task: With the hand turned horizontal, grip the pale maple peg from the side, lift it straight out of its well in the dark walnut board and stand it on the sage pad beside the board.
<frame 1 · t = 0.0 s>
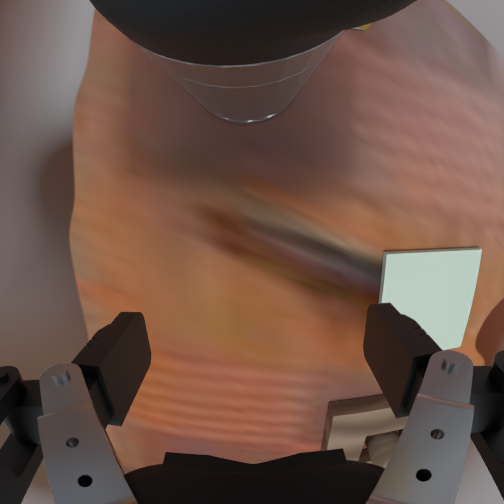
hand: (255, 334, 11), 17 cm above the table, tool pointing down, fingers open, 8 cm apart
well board: (379, 433, 35), on the table
sage pad: (427, 303, 29), on the table
maple peg: (392, 468, 29), in the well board
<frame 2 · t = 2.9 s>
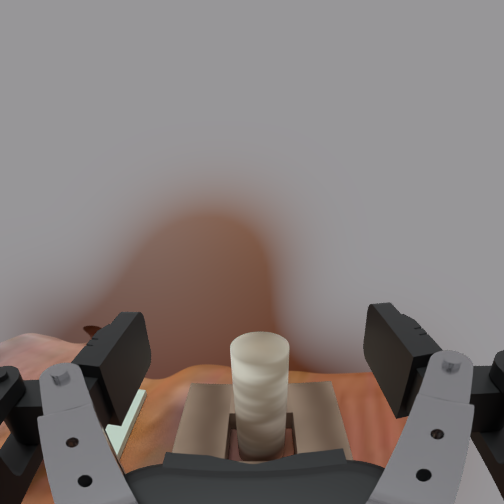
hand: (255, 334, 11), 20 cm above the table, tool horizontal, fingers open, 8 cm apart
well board: (261, 451, 27), on the table
sage pad: (87, 419, 29), on the table
maple peg: (260, 407, 25), in the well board
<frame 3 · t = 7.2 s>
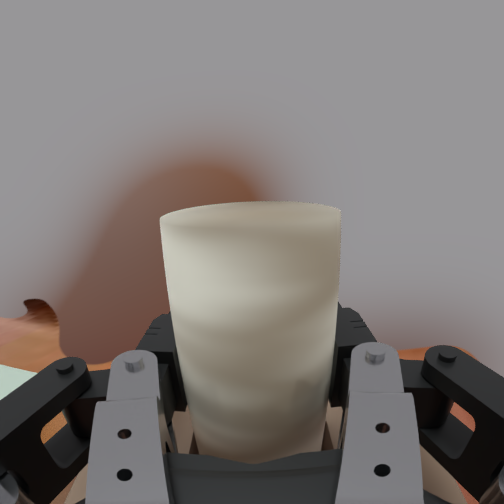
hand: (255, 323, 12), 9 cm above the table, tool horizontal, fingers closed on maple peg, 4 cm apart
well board: (262, 502, 11), on the table
maple peg: (258, 413, 9), in the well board, touching gripper
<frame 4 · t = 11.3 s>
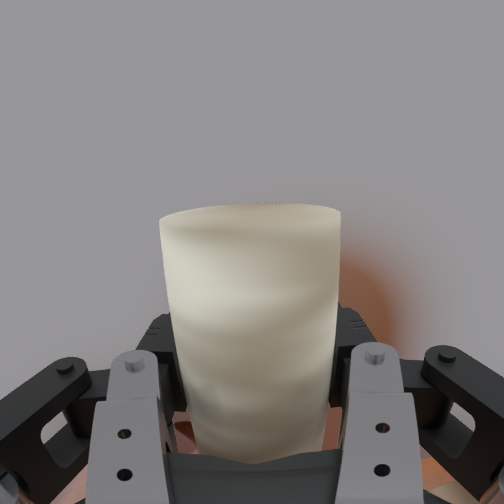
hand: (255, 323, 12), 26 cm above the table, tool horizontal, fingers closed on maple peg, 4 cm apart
maple peg: (258, 414, 9), point 24 cm above the table, touching gripper
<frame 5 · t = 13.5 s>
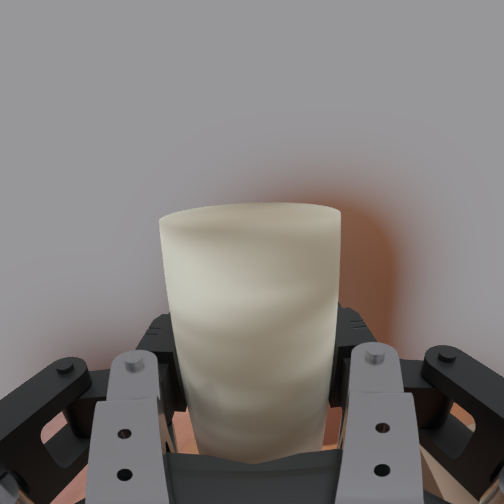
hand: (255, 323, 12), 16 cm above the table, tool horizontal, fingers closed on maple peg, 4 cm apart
maple peg: (258, 414, 9), point 14 cm above the table, touching gripper
when the fingers open (10 cm above the table, at t = 15.4 s): maple peg stays where it is, resting on sage pad.
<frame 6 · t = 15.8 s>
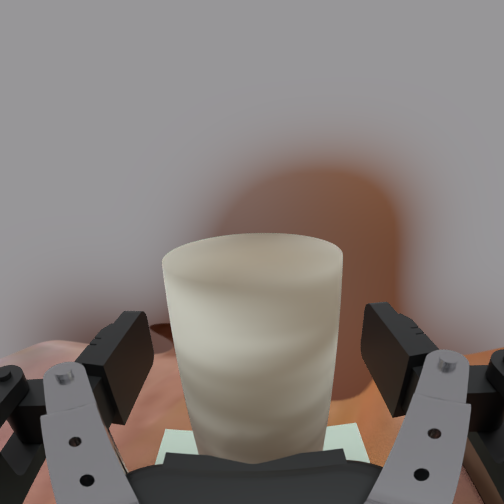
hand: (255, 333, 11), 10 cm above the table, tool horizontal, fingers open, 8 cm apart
maple peg: (260, 435, 10), on the sage pad, point 7 cm above the table
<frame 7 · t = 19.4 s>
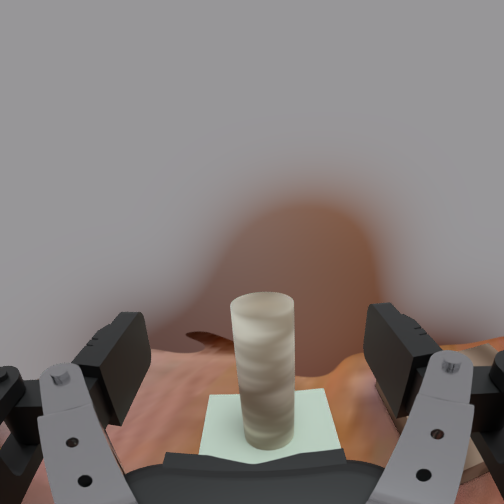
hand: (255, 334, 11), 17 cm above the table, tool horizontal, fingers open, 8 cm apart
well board: (467, 413, 23), on the table
sage pad: (269, 438, 25), on the table
maple peg: (266, 378, 23), on the sage pad, point 7 cm above the table
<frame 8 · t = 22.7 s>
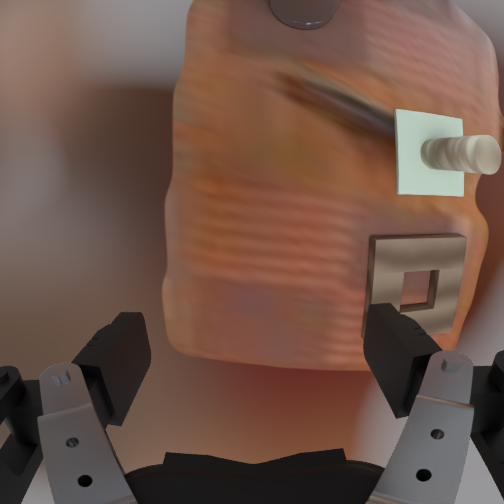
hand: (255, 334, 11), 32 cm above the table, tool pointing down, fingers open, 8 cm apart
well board: (412, 285, 44), on the table
sage pad: (430, 154, 39), on the table
maple peg: (457, 154, 32), on the sage pad, point 7 cm above the table
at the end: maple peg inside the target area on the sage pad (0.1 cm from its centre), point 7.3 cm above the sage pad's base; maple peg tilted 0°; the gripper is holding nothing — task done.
